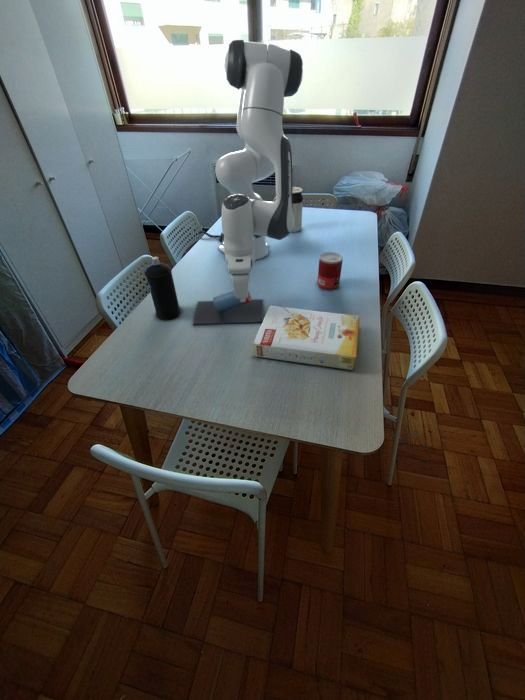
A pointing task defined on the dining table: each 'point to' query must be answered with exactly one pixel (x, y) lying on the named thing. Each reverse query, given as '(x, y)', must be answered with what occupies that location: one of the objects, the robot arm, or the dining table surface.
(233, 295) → the container
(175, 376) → the dining table surface
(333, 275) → the canned food
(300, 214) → the travel mug
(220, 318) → the mat
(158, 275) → the aerosol can
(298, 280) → the dining table surface
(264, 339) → the cereal box
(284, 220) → the robot arm
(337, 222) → the dining table surface
